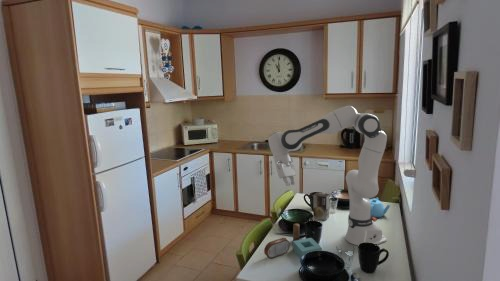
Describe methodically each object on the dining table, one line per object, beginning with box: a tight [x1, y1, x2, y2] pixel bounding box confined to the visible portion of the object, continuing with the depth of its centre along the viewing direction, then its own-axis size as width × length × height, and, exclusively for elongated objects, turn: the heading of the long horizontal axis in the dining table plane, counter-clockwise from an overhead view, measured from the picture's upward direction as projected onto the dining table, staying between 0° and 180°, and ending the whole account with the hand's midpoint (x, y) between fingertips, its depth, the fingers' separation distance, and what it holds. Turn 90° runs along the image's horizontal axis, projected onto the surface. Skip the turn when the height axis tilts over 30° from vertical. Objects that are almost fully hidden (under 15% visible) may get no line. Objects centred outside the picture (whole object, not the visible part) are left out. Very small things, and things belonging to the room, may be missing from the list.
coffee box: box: [312, 191, 331, 221], centre depth 207 cm, size 9×6×16 cm
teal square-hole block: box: [292, 237, 323, 259], centre depth 166 cm, size 11×11×5 cm
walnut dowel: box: [292, 223, 300, 242], centre depth 177 cm, size 4×4×10 cm
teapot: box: [369, 197, 391, 219], centre depth 211 cm, size 15×15×11 cm
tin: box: [263, 237, 291, 259], centre depth 164 cm, size 15×3×8 cm, turn 121°
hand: (290, 185), depth 170 cm, fingers open, 8 cm apart
